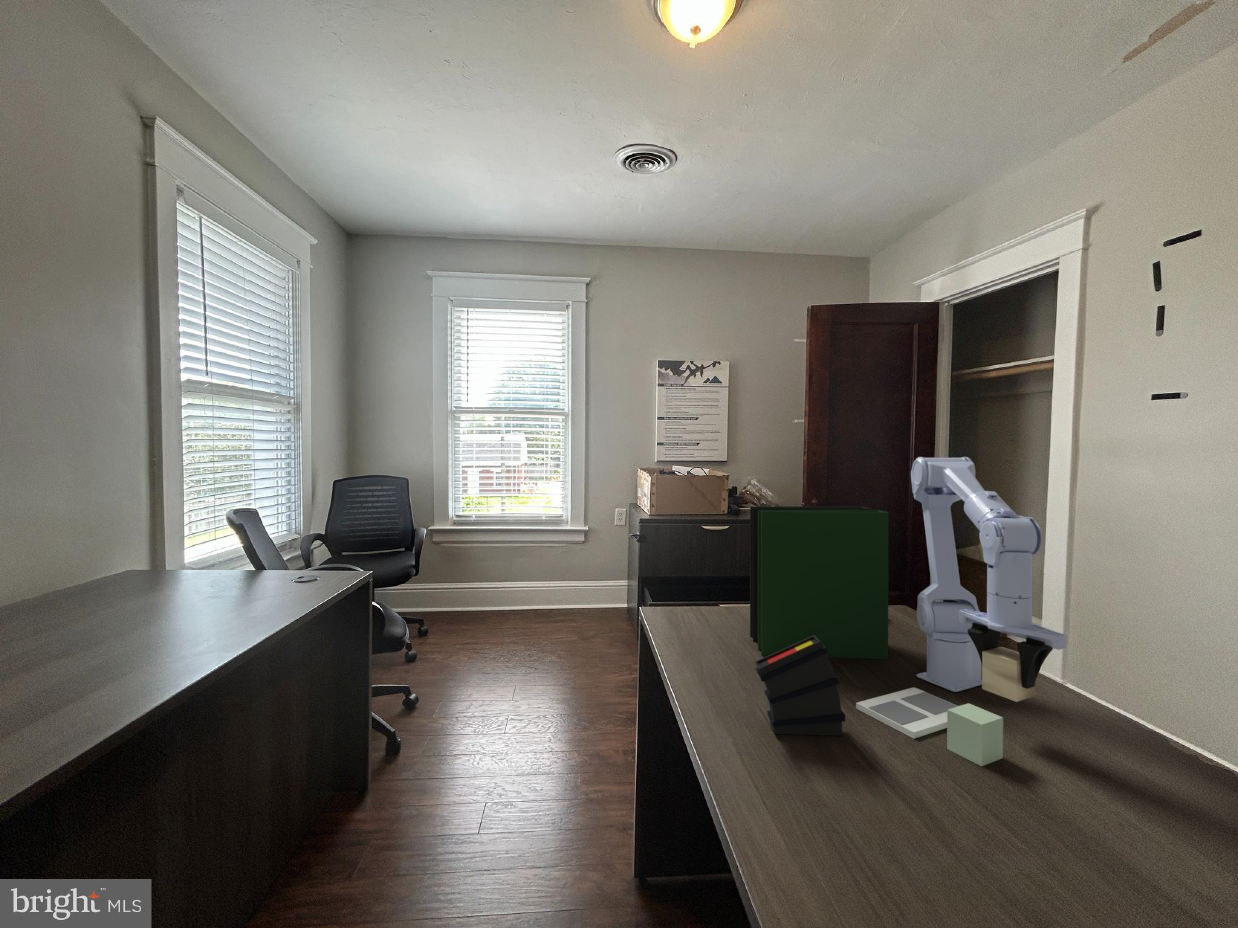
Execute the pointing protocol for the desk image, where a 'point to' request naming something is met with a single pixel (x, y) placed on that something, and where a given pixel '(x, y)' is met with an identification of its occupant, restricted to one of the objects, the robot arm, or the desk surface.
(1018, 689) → the wooden toy cube
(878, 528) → the binder
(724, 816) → the desk surface
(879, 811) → the desk surface
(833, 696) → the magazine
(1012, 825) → the desk surface
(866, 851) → the desk surface
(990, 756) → the sage post
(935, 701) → the board
